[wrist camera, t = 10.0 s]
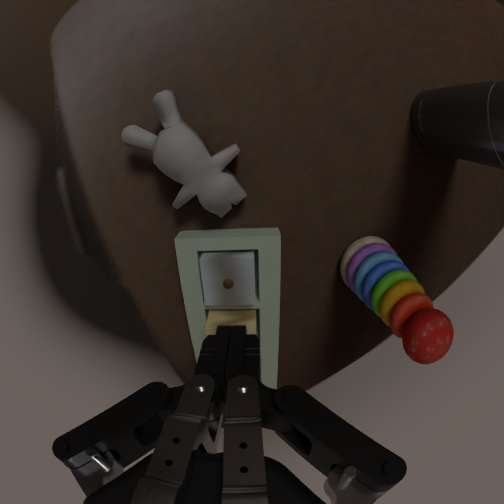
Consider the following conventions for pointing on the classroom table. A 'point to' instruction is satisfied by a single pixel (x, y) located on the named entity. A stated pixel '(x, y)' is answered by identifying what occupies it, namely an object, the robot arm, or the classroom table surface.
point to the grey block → (228, 277)
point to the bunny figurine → (188, 158)
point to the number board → (266, 306)
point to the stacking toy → (396, 298)
